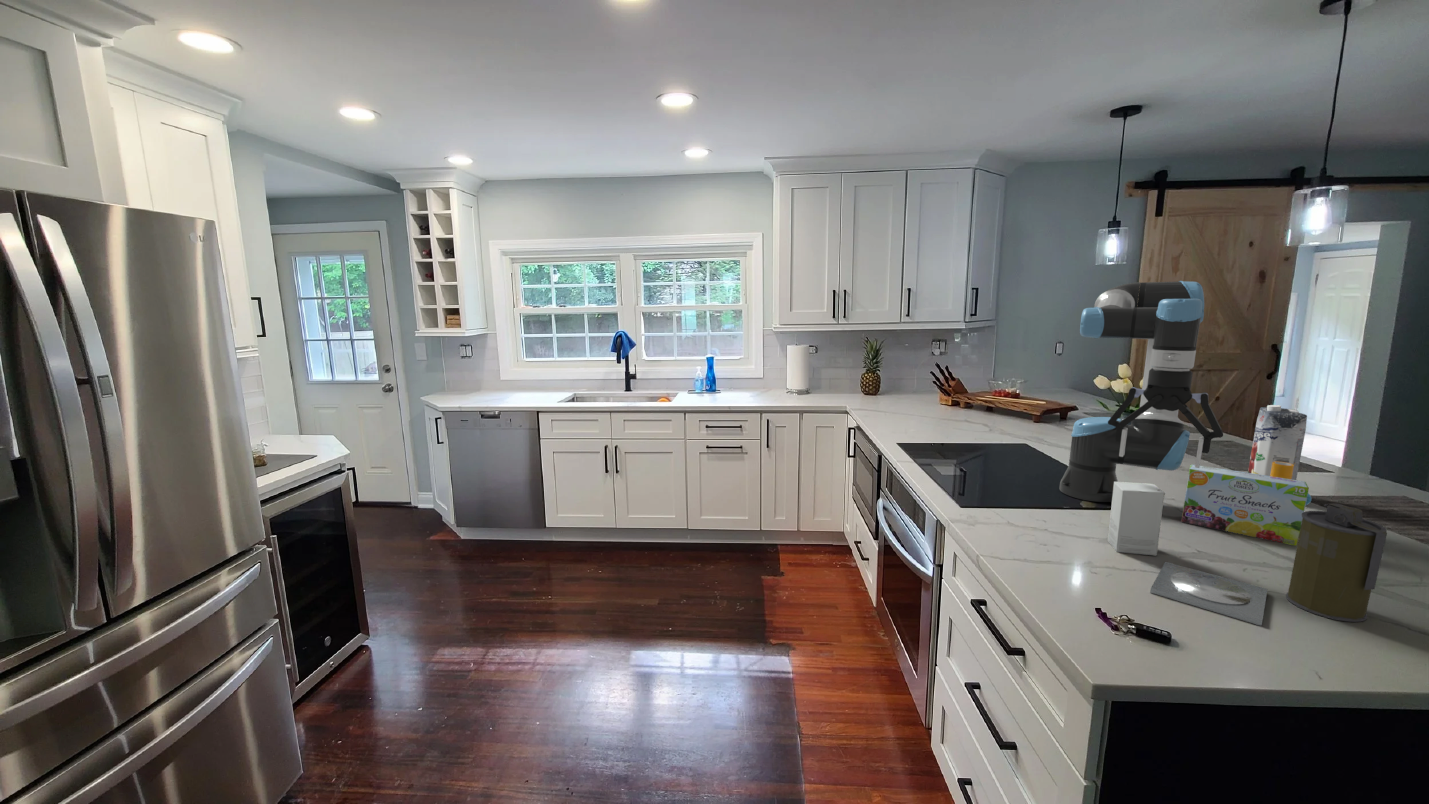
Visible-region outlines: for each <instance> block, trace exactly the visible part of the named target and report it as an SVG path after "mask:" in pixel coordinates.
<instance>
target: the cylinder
mask: <svg viewBox="0 0 1429 804" xmlns="http://www.w3.org/2000/svg"><path fill="white" fill-rule="evenodd" d="M1293 469H1294V465H1293V464H1291V463H1286V462H1277V461H1275V462H1272V467H1271V473H1270V476H1272V477H1278V478H1285V479H1292V474H1293ZM1311 502H1312V495H1311V494H1309V492H1308V496H1307V500H1306V505H1305V506H1307V505H1309V504H1311Z"/></svg>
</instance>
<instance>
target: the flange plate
mask: <svg viewBox="0 0 1429 804" xmlns="http://www.w3.org/2000/svg"><path fill="white" fill-rule="evenodd" d="M1150 594H1153V595H1157V596H1160V597H1163V598H1167V599H1171V600H1174V601H1177V602H1179V603H1184V604H1187V605H1190V606H1192V607H1193V606H1194V607H1197V608H1200V609H1204V610H1208V611H1209V612H1214V613H1217V614H1220V615H1224V616H1227V617H1230V618H1233V619H1236V620H1240V621H1243V622H1246V623H1250V624H1253V625H1256V626H1261V627H1262V625H1263V620H1264V615H1265V607H1266V601H1267V595H1268V588H1266V587H1262V586H1259V585H1254V584H1251V583H1247V582H1243V581H1240V580H1235V579H1232V578H1228V577H1224V576H1220V575H1216V574H1212V573H1209V572H1204V571H1201V570H1198V569H1193V568H1189V567H1186V566H1182V565H1178V564H1175V563H1171V562H1167V561H1165V562H1164V563H1163V565H1162V567H1161V569H1160V571H1159V573H1158V575H1157V576H1156V578H1155V580H1154V582H1153V583H1152V584H1151V586H1150Z"/></svg>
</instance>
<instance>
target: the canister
mask: <svg viewBox="0 0 1429 804" xmlns="http://www.w3.org/2000/svg"><path fill="white" fill-rule="evenodd" d="M1323 507H1324V508H1325V507H1327V508H1326V511H1324V510H1307V511H1304V512H1303V513H1302V517H1303V519H1302V524H1301V529H1300V534H1299V539H1298V543H1297V546H1296V549H1295V555H1294V560H1293V566H1292V570H1291V577H1290V582H1289V585H1288V590H1287V592H1286V594H1285V597H1286V599H1287V601H1289V602H1290V604H1293V605H1294V606H1296V607H1297V608H1299V609H1302V610H1304V611H1305V612H1308V613H1311V614H1314V615H1317V616H1319V617H1322V618H1326V619H1330V620H1334V621H1342V622H1349V623H1361V622H1364V621H1367V618H1368V614H1367V612H1368V606H1369V603H1370V597H1371V593H1372V590H1373V591H1374V590H1375V588H1376V584H1377V579H1378V575H1379V571H1380V566H1381V563H1382V562H1381V561H1382V557H1383V553H1384V549H1385V548H1384V547H1385V544H1386V540H1387V537H1388V535H1387V534H1388V533H1387V529H1386V527H1384V526H1383V525H1382V524H1379V523H1377V522H1375V521H1372V520H1369V519H1366V518H1363V510H1362V509H1359V508H1356V507H1350V506H1347V505H1344V504H1341V503H1325V504H1323Z"/></svg>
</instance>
